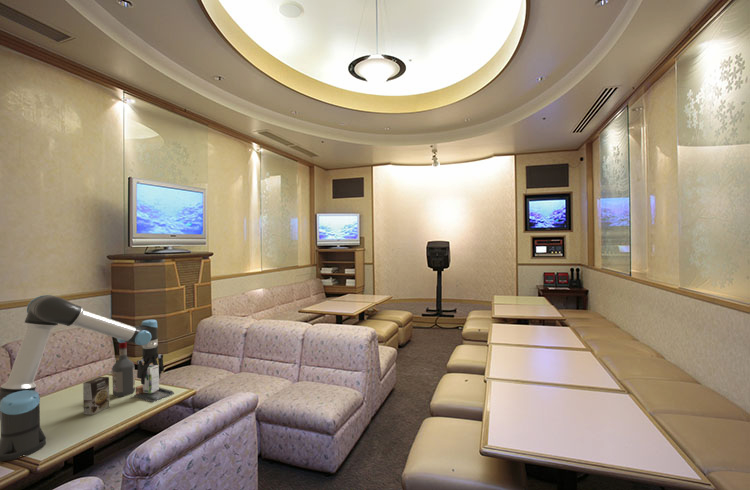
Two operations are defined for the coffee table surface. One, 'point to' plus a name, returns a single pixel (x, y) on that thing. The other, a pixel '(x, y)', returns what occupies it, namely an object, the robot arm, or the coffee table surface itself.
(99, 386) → the coffee box
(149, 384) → the syrup box
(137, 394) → the rail board
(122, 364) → the liquor
